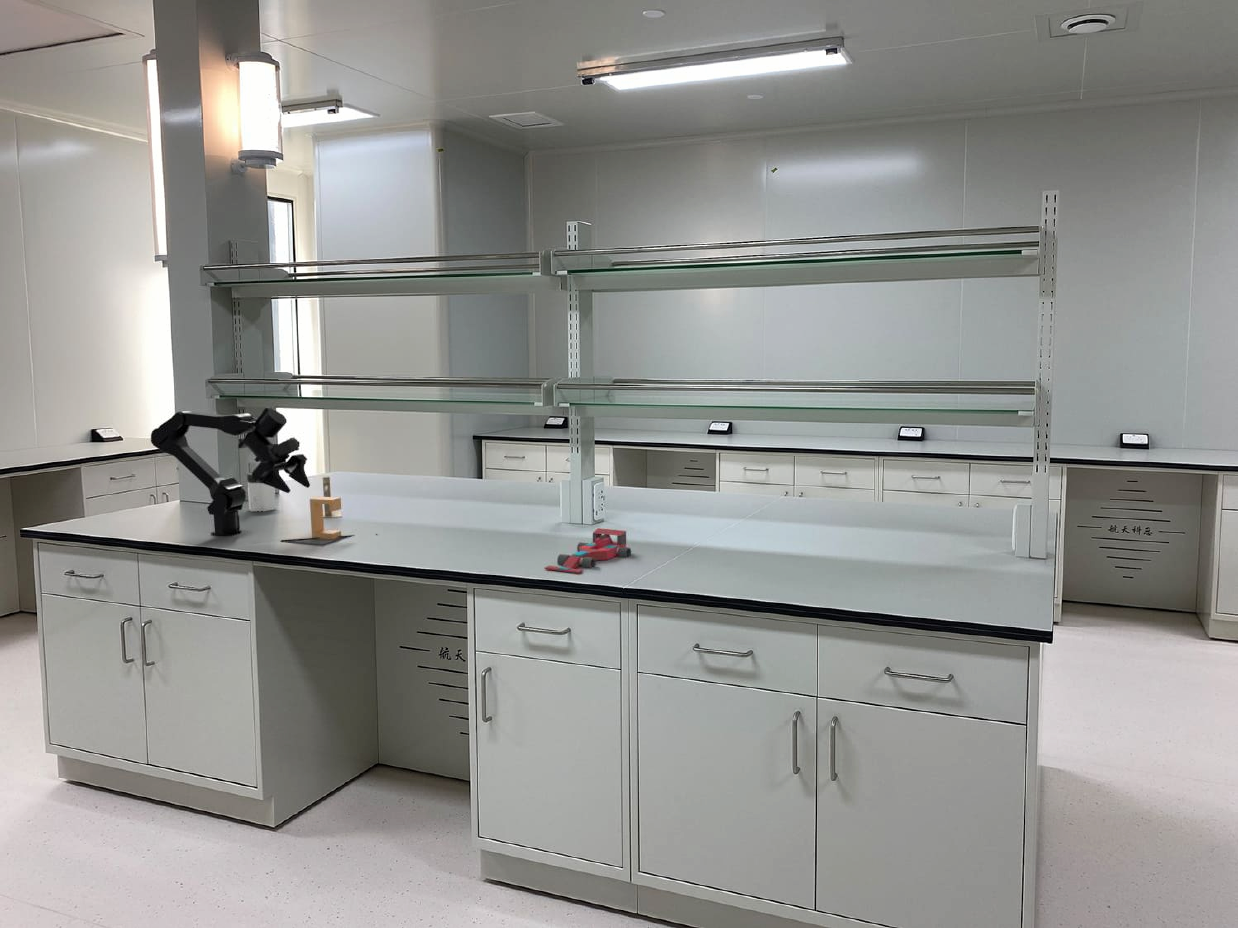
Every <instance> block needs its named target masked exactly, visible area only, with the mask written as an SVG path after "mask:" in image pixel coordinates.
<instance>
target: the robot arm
mask: <svg viewBox="0 0 1238 928" xmlns="http://www.w3.org/2000/svg"><path fill="white" fill-rule="evenodd" d="M286 424H287V418H286V416H284V414H282V413H280V412H279V411H277V410H275V409H273V408H272V407H271V406H270V407H269V406H268V407H265V408H264V409H263V410H262V413H261V414H260V415H259V416H258V418H257V417H253V415H252V414H250V413H247V412H246V413H237V414H235V413H234V414H227V415H225V414H213V413H205V412H198V411H197V412H195V411H190V410H182V411H177V412H176V413H174V414H173V415H172V416H171V418H169V419H167V420H166V421H164V422H163V423H162V424H160V425H159V426H158V427H156V428H154V429H153V430H152V431H151V433H150V442H151V444H152V446H153V447H155V448H157V449H158V450H159V451H161V452H163V453H165V454H168V455H170V456H173V457H175V458H176V460H177V461H178V462H180V463H181V464H182V465H183V466H184V467H185V468H186V469H187V470H188V471H189V472H190V473H191V474H193V475H194V477H196V479H197V480H199V481H200V482H201V483H202V484H203V485H204V486H205V487H207V489H208V491H209V495H210V499H211V500H212V501H211V502H210V503H209V505H208V506H207V507H206V508H207V511H208V514H209V515H211V516H212V515H213V526H214V527H213V529H214V531H212V532H210V535H213V536H214V535H216V536H218V535H219V536H227V537H228V536H232V535H236V534H239V533H242V531H243V529H241V525H240V515H239V511H241V510H243V506H244V503H245V501H246V500H247V499H246V498H247V497H246V496H247V495H246V494H247V493H246V491H245V489H244V488H243V487H244V485H242V484H240V483H239V482H238V481H237V480H236V478H234V477H228V478H224V477H223V476H221V475H220V473H218V472H217V470H215V469H214V468H213V467H212V466H211V465H209V463H207V461H205V459H204V458H202V457H201V456H200V455H199V454H198V453H197V452H196V451H195V450H194V449H193V448H192V447H190V446H189V443H188V440H187V437H186V434H187V433H188V432H189V429H190V427H197V428H205V429H206V428H207V429H214V430H219V431H221V432H222V433H225V434H228V435H232V436H241V435H245V436H244V437H243V438H239V439H238V446H237V447H238V449H246V448H248V449H249V451H250V452H251V453H252V454H253V455H254V456H255V458H254V461H255V462H256V463H258V465H257V466H256V467H255V468H254V469H253V471H252V472H251V473H252V478H253V479H254V481H255V482H260V483H261V484H262V483H263V484H266V485H269V486H271V487H274V489H277V490H279V491H281V492H284V493H287V494H289V493H290V492H291V489H290V488H289V486H288V484H287V483H286V482H285V480H284V478H282V476H281V475H280V472H281V471H284V472H285V473H286V474H287V475H288V477H290V478H291V479H293V480H294V481H295V482H297V483H298V484H299V485H301V486H303V487H305V488H307V489H308V488H310V486H311V483H310V481H309V479H308V477H307V474H306V471H305V465H306V464H307V461H308V458H307V456H305V455H304V454H303V453H297V454H293V455H290V454H291V453H293V452H297V451H299V450H300V444H301V443H300V441H299V440H297V438H295V437H294V436H293V437H289V439H286V440H284V441H282V442H280V443H273V442H272V441H271V440H270V439H269V438H271V439H272V438H275V437H276V436H277V435H278V434H279V432H280V431H281V430H282V429H283V427H285V425H286ZM287 459H288V460H287Z"/></svg>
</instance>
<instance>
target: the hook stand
mask: <svg viewBox="0 0 1238 928" xmlns="http://www.w3.org/2000/svg"><path fill="white" fill-rule="evenodd" d="M322 486H323V487H322V488H323V489H322V490H323V497H332V495H331V477H330V476H322ZM323 505H324V507H323V508H324V509H323V510H324V512H323V519H333V518H334V519H335V518H342V517H343V511H333V512H332V511H330V505H329V504H323Z"/></svg>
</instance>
